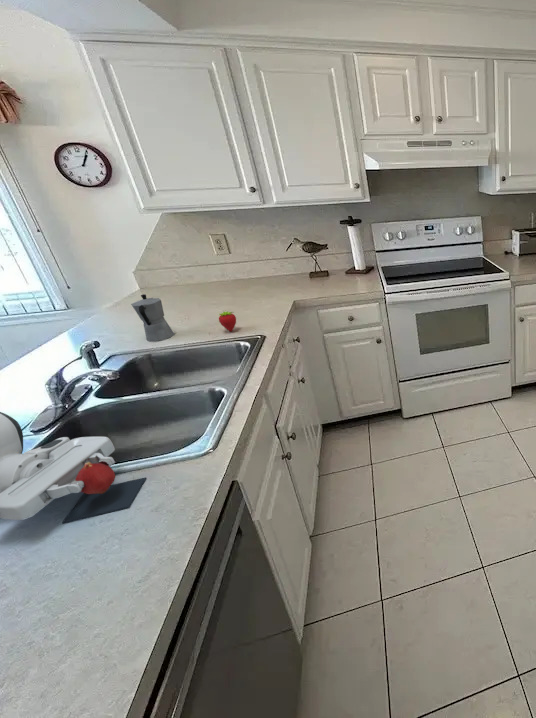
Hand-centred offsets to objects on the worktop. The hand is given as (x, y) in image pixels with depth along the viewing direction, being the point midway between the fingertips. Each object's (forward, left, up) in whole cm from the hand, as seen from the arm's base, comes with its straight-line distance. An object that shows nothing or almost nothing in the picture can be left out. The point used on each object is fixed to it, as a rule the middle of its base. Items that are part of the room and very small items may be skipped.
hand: (97, 473), depth 84 cm
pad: (-1, 0, -7) cm, 7 cm away
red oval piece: (-1, 0, -5) cm, 5 cm away
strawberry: (+4, +94, -7) cm, 95 cm away
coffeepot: (-22, +98, -7) cm, 101 cm away
